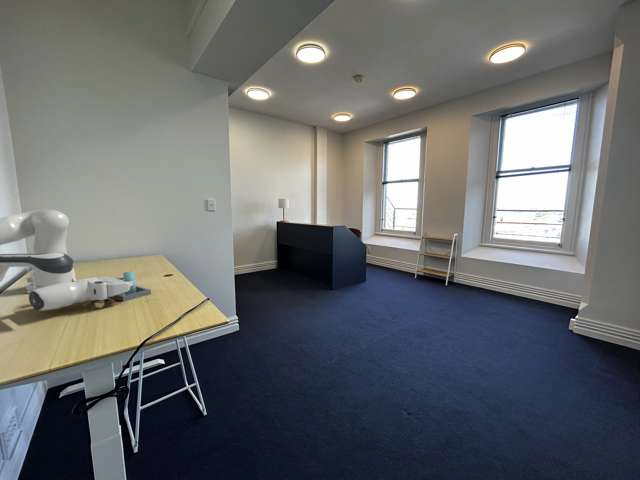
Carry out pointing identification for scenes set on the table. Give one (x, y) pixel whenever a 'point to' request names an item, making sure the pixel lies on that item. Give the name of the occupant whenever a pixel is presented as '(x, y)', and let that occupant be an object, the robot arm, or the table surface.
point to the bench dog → (99, 305)
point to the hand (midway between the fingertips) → (130, 280)
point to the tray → (140, 293)
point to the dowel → (130, 280)
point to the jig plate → (107, 301)
